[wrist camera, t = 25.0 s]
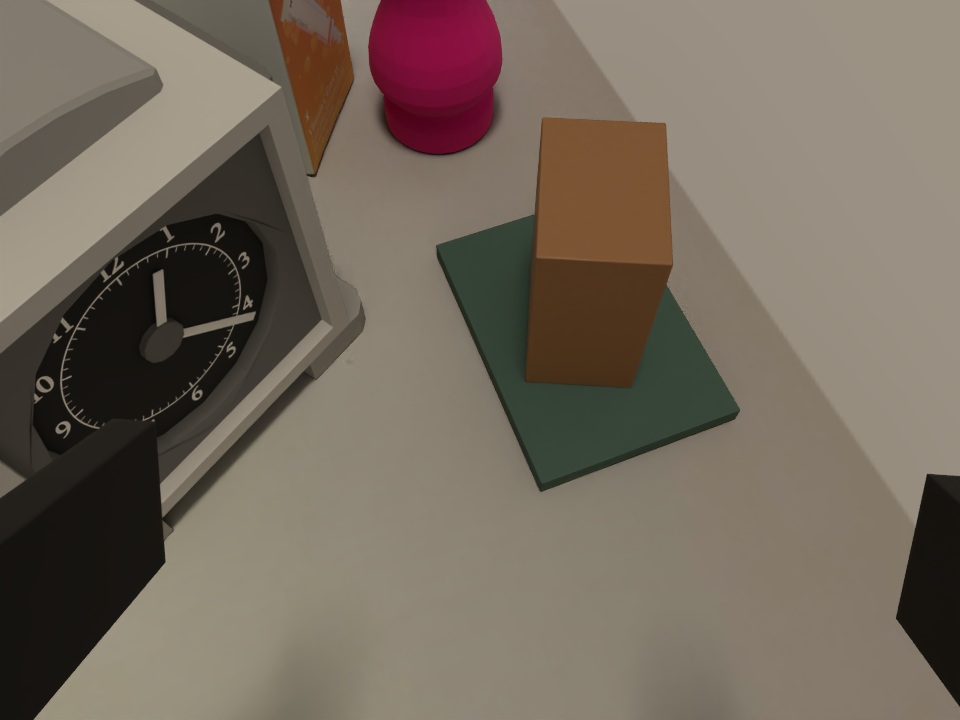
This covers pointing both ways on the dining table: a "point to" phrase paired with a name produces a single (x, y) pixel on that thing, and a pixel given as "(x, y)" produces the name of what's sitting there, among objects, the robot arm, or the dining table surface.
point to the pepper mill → (436, 70)
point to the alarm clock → (150, 239)
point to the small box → (287, 55)
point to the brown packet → (597, 250)
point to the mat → (578, 408)
